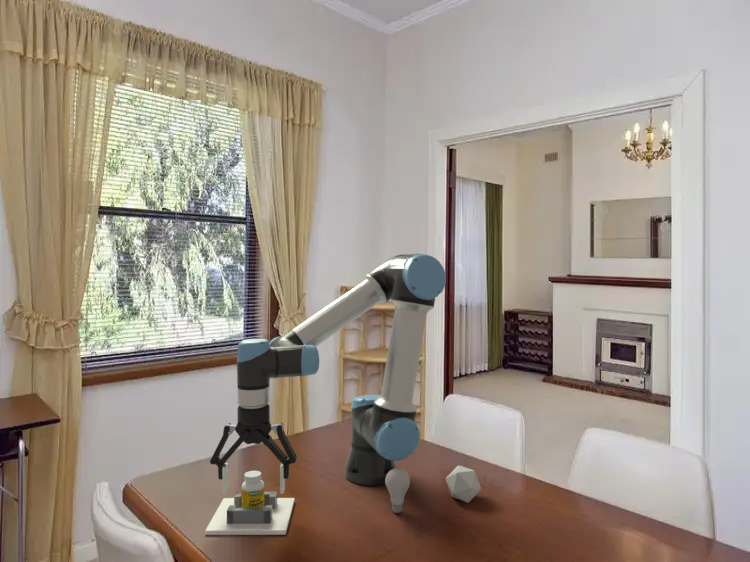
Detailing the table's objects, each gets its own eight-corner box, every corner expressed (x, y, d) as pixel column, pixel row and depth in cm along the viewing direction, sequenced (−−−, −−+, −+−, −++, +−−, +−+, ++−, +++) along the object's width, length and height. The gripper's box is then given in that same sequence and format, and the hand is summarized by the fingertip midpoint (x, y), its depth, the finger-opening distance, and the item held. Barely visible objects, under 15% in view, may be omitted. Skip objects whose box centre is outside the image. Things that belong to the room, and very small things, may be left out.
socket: (294, 501, 132) (294, 486, 132) (285, 534, 116) (285, 517, 116) (223, 501, 131) (223, 486, 131) (205, 534, 115) (205, 517, 115)
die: (486, 501, 135) (476, 464, 140) (480, 496, 128) (469, 458, 134) (456, 508, 137) (447, 471, 142) (449, 504, 130) (439, 466, 135)
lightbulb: (392, 521, 123) (393, 475, 122) (380, 510, 128) (381, 466, 128) (414, 515, 125) (415, 471, 125) (401, 505, 131) (402, 462, 130)
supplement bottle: (258, 505, 127) (258, 467, 127) (268, 513, 123) (268, 474, 123) (237, 512, 124) (237, 472, 124) (247, 520, 120) (247, 480, 119)
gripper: (307, 399, 127) (307, 484, 128) (205, 400, 126) (206, 485, 127) (304, 408, 119) (304, 498, 120) (195, 409, 118) (196, 499, 119)
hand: (254, 491), depth 123 cm, fingers open, 13 cm apart
